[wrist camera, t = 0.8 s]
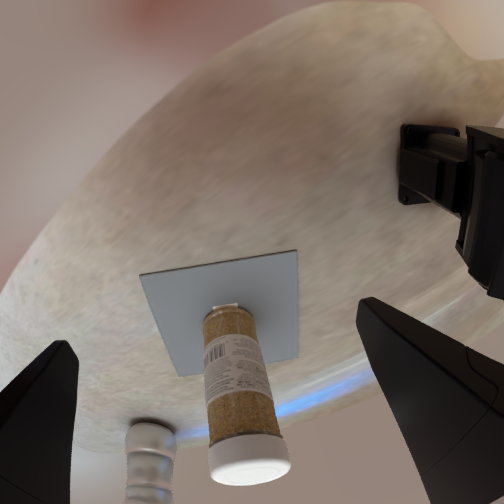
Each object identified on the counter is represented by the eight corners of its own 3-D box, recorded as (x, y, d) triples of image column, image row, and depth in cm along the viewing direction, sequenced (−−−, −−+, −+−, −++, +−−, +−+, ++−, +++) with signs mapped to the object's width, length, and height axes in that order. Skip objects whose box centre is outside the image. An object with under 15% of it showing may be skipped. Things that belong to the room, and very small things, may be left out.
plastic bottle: (169, 441, 34) (175, 567, 16) (123, 430, 32) (117, 560, 14) (183, 423, 32) (193, 569, 14) (131, 410, 29) (124, 563, 12)
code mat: (296, 250, 22) (297, 251, 22) (297, 356, 28) (298, 357, 28) (139, 275, 21) (139, 276, 21) (178, 375, 27) (178, 376, 27)
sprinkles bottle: (221, 350, 26) (239, 491, 14) (190, 320, 24) (192, 477, 12) (265, 328, 25) (304, 472, 13) (237, 294, 23) (268, 456, 11)
